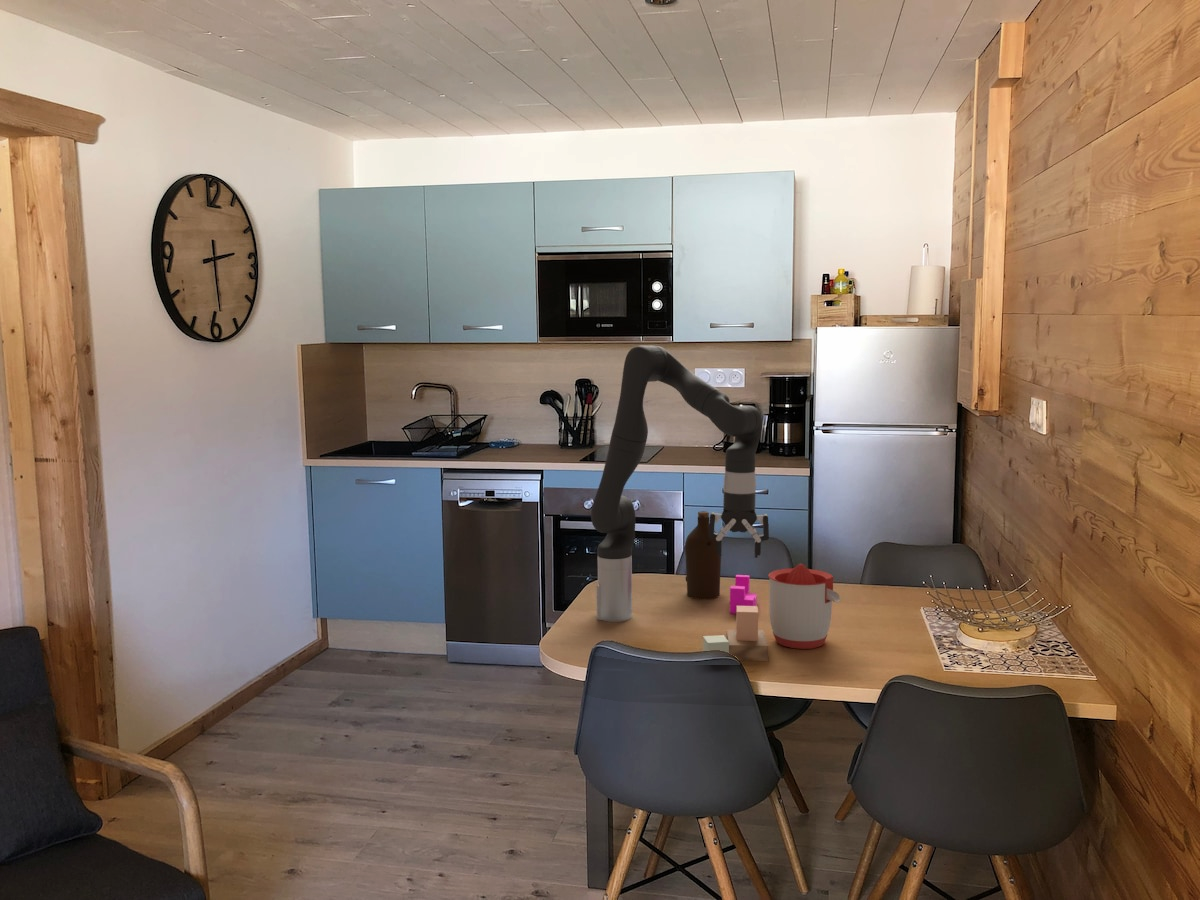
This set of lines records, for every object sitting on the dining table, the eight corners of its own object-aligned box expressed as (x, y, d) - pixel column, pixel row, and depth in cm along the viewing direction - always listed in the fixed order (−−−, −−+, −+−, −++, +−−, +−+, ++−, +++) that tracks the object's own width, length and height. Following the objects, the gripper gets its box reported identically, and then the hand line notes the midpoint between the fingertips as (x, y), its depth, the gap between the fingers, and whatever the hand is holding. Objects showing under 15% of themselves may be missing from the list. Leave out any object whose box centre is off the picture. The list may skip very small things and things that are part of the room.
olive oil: (729, 596, 277) (729, 512, 274) (705, 603, 270) (705, 517, 267) (701, 589, 285) (701, 507, 282) (677, 596, 278) (677, 512, 275)
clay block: (736, 640, 226) (736, 611, 225) (736, 633, 231) (736, 605, 230) (757, 640, 225) (758, 612, 224) (757, 634, 230) (757, 606, 229)
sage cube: (707, 663, 221) (707, 642, 220) (702, 656, 226) (703, 636, 225) (728, 662, 221) (728, 641, 221) (723, 655, 226) (723, 635, 226)
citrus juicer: (829, 658, 223) (830, 575, 221) (758, 647, 232) (759, 567, 229) (846, 639, 237) (848, 560, 234) (779, 629, 245) (780, 553, 243)
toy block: (753, 616, 258) (753, 589, 257) (729, 614, 259) (730, 588, 258) (758, 601, 272) (758, 575, 271) (736, 600, 274) (736, 574, 273)
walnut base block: (729, 661, 223) (729, 645, 222) (726, 645, 235) (726, 629, 234) (767, 662, 222) (768, 645, 222) (763, 645, 234) (763, 630, 234)
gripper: (708, 491, 223) (707, 558, 225) (770, 493, 221) (768, 561, 223) (710, 486, 231) (708, 551, 233) (769, 488, 228) (767, 553, 231)
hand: (738, 556), depth 228 cm, fingers open, 8 cm apart
